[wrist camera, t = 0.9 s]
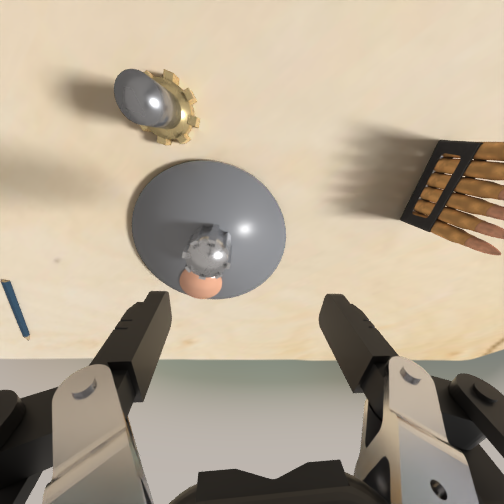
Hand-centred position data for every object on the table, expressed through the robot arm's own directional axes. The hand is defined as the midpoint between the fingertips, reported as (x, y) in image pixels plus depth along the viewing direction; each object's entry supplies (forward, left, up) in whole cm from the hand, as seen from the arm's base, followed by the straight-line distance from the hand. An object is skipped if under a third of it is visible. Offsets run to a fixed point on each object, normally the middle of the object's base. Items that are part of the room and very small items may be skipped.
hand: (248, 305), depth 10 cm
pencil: (+31, -32, -20) cm, 49 cm away
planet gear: (-7, -11, -20) cm, 24 cm away
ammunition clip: (-10, +23, -20) cm, 32 cm away
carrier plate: (+7, -3, -20) cm, 21 cm away
